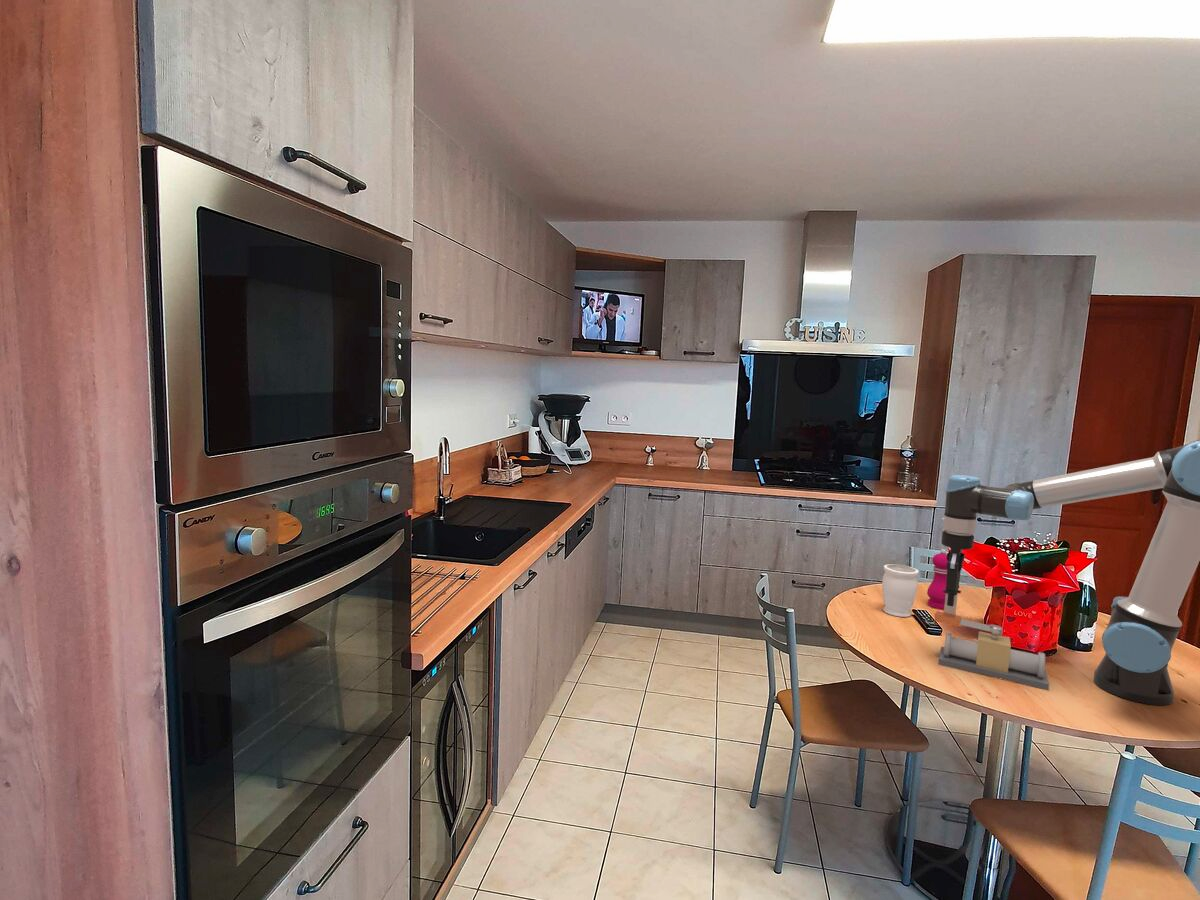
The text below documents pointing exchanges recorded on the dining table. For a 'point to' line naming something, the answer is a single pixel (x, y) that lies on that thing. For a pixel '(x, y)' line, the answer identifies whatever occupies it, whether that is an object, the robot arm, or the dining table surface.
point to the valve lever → (966, 622)
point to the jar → (899, 589)
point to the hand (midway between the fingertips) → (949, 616)
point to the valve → (994, 659)
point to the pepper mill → (938, 581)
